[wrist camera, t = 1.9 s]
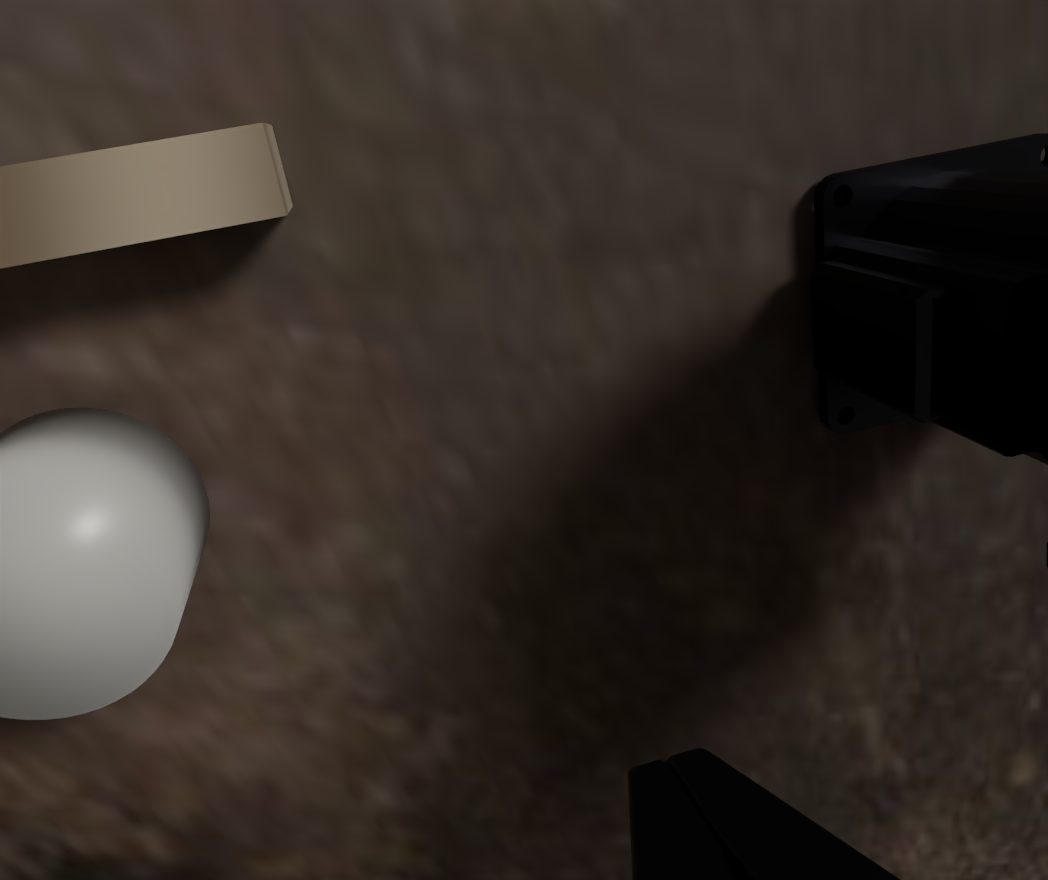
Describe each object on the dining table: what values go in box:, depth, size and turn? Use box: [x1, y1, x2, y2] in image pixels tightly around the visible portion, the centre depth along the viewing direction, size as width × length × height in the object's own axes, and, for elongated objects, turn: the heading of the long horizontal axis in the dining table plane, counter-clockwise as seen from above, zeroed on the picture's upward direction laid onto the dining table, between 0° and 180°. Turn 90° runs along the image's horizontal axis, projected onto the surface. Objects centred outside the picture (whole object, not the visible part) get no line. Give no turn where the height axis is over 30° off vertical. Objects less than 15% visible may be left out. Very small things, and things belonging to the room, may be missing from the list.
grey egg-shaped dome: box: [0, 408, 210, 720], centre depth 17 cm, size 5×5×4 cm
